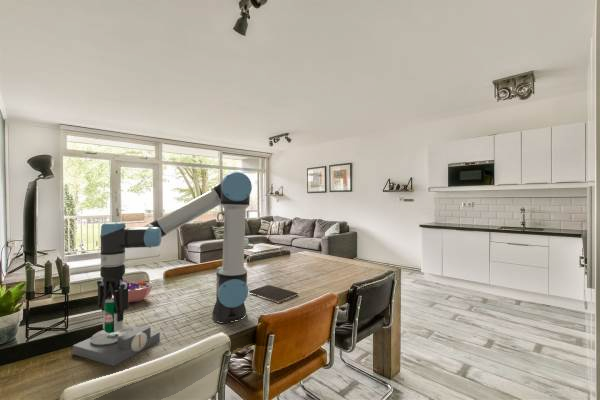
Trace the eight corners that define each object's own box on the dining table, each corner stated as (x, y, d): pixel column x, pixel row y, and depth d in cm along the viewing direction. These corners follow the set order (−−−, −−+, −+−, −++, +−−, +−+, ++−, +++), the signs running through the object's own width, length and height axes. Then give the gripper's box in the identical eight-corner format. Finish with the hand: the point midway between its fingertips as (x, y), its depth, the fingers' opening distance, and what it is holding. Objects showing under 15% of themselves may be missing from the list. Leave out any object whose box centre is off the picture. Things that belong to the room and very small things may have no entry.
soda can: (101, 332, 102) (101, 298, 102) (114, 326, 106) (114, 294, 106) (110, 334, 100) (110, 300, 100) (124, 328, 104) (124, 296, 104)
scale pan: (141, 331, 107) (141, 329, 107) (107, 348, 95) (107, 345, 95) (116, 326, 111) (116, 323, 111) (81, 341, 99) (81, 339, 99)
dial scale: (160, 340, 107) (161, 322, 107) (115, 366, 90) (115, 345, 90) (121, 331, 114) (121, 315, 114) (72, 354, 97) (72, 334, 97)
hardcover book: (278, 304, 145) (278, 300, 145) (248, 295, 160) (248, 290, 160) (298, 296, 158) (298, 292, 158) (269, 288, 172) (269, 284, 172)
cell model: (145, 307, 140) (145, 284, 140) (101, 309, 136) (101, 286, 136) (157, 295, 156) (157, 275, 156) (117, 297, 153) (117, 276, 153)
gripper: (85, 264, 103) (85, 328, 103) (121, 269, 96) (120, 337, 96) (105, 260, 110) (105, 320, 110) (140, 264, 103) (140, 328, 103)
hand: (112, 328), depth 103 cm, fingers closed on soda can, 5 cm apart
